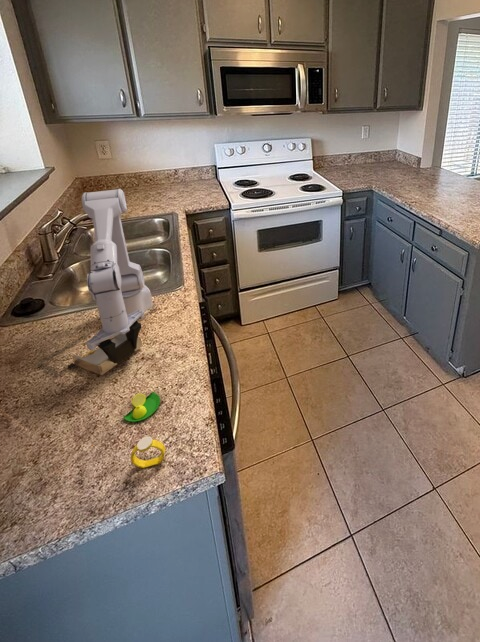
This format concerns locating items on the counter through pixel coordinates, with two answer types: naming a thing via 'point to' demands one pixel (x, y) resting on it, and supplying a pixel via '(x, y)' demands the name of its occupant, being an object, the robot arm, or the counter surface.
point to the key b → (88, 353)
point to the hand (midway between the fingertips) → (123, 354)
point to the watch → (144, 446)
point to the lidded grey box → (100, 360)
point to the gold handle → (71, 365)
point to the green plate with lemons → (143, 406)
